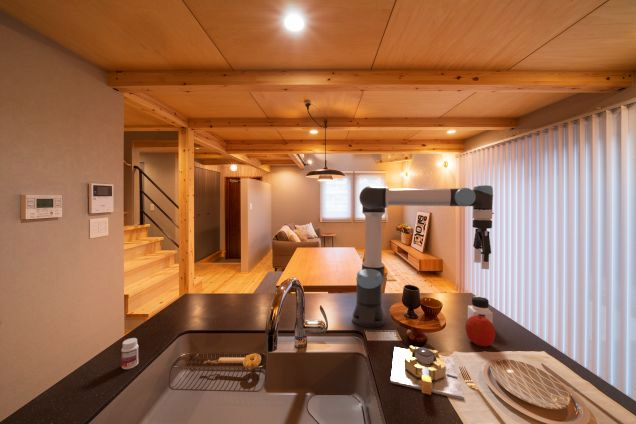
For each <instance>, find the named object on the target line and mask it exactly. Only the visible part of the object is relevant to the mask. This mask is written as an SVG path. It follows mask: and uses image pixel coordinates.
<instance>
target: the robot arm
mask: <svg viewBox="0 0 636 424" xmlns="http://www.w3.org/2000/svg"><path fill="white" fill-rule="evenodd" d="M358 197H359V202H360V204H361V206H362V210H361V211H362V214H363V216H364V218H365V220H364V223H365V225H364V226H365V227H364V230H365V231H364V261H363V262H362V263H361V269H360V270H359V271H358V272H357V273H356V303H355V306H354V310H353V312H352V321H353V322H354V323H355V324H356V325H358V326H360V327H365V328H370V329H373V328H379V327H382V326H384V325H385V324H386V323H385V322H386V318H385V314H384V310H383V307H382V291H383V290H382V289H383V286H384V284H385V281H386V273H385V264H384V262H382V260H383V259H382V255H383V254H382V251H383V250H382V249H383V248H382V243H383V240H382V239H383V235H382V234H383V232H382V231H383V215H384V214H385V213H386V208H388V207H389V206H399V207H400V206H408V207H409V206H411V207H415V206H419V207H420V206H421V207H425V206H426V207H432V206H433V207H472V219H473V220H472V227H473V228H474V229H475V231H474V238H473V245H472V246H473V248H474V251H473V253H474V254H473V256H474V257H473V263H480V264H481V266H480V268H481V270H490V254H492V248H491V238H490V233H491V232H490V231H489V230H490V229H492V228H493V220H492V219H493V215H494V212H493V202H494V201H493V200H494V189H493V186H492V185H486V184H485V185H484V184H482V185H481V184H480V185H474V186H473V189H471V188H468V187H461V188H389V187H388V186H376V185H368V186H366V187H364V188H363V189H362V190H361V191H360V193H359V196H358ZM487 229H489V230H487Z"/></svg>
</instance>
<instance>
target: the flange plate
mask: <svg viewBox="0 0 636 424" xmlns="http://www.w3.org/2000/svg"><path fill="white" fill-rule="evenodd" d="M407 349H408V348H402V347H397V346H394V348H393V358H392V368H391V376H390V383H391V384H394V385H400V386H404V387H407V388H412V389H416V390H420V391H422V378H421V377H417V376H415V375H414V374H412V373H411V372H410V371H409V370H407V369H406V368H405V367H404V357H405V350H407ZM429 349H430V348H427V347H420V348H417V349H415V358H416V359H417V362H418V363H420V364H425V365H433V362H434V353H433V352H432V351H430V350H431V349H430V350H429ZM441 356H442V357H443V358H444V361H445V365H446V375H445V376H444V377H442V378H439V379H437V380H434V379H433V380H431V393H434V394H437V395H442V396H446V397H450V398H456V399H459V400H463V401H465V400H464V399H465V397H464V391H463V389H462V386H461V382H460V379H459V375H458V372H457V367H456V364H455V361H454V358H453V357H451V356H445V355H441Z"/></svg>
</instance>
